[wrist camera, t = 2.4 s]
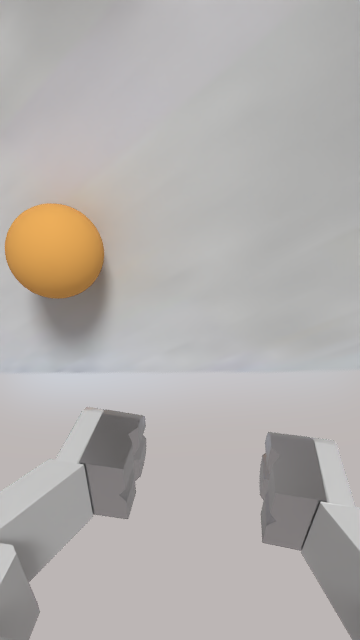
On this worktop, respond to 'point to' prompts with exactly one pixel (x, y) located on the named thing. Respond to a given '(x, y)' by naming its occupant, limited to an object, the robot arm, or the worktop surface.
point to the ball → (54, 250)
